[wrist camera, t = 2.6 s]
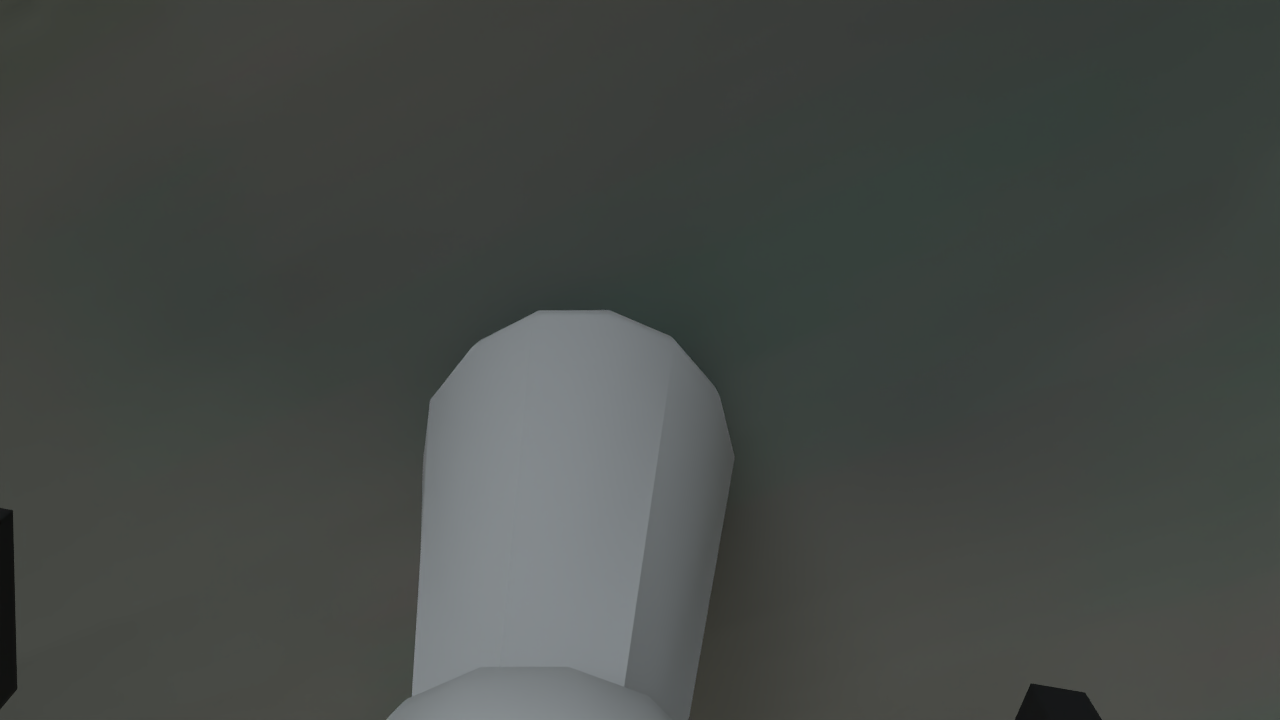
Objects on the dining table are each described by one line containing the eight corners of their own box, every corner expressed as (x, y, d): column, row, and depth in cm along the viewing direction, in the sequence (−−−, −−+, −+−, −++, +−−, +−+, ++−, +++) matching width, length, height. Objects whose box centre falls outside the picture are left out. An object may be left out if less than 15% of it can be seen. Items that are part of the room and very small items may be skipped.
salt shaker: (459, 525, 22) (234, 1206, 10) (434, 277, 20) (109, 761, 8) (723, 521, 22) (817, 1202, 10) (726, 272, 20) (850, 752, 8)
